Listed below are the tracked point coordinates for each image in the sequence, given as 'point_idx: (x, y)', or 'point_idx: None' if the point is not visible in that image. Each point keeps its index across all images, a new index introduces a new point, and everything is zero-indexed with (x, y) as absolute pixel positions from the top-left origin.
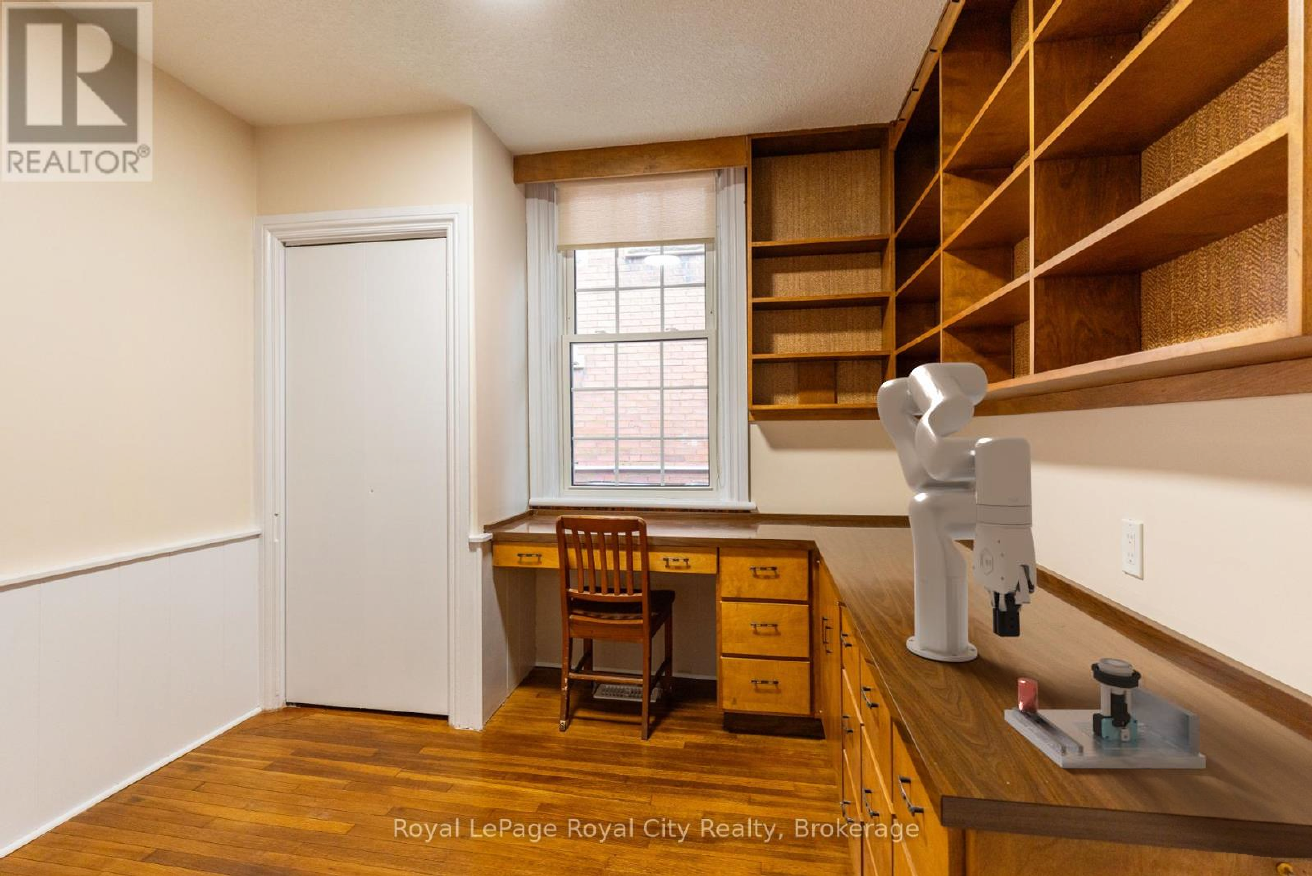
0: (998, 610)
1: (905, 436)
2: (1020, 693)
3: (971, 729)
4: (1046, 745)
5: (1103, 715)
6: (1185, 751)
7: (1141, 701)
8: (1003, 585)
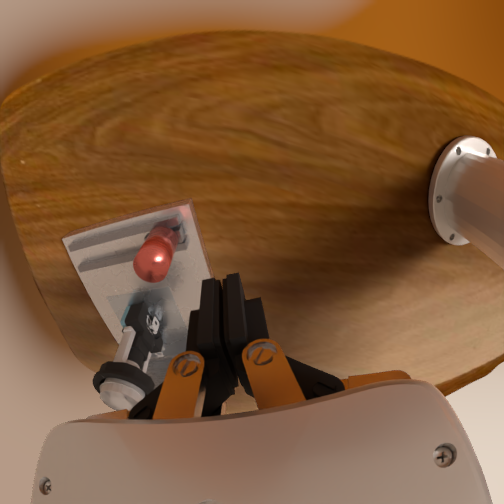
0: (201, 346)
1: None
2: (148, 240)
3: (139, 133)
4: (86, 230)
5: (124, 327)
6: None
7: None
8: (43, 452)
